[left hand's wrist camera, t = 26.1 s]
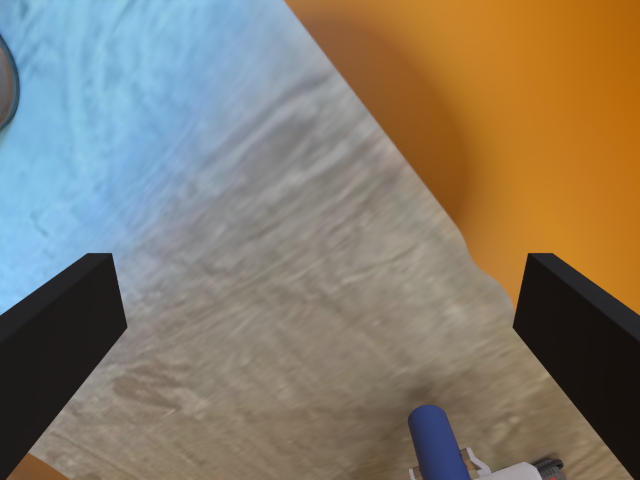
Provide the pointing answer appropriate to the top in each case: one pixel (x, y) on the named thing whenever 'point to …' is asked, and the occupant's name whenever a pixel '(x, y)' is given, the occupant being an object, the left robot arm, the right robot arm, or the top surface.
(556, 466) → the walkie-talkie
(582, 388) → the left robot arm
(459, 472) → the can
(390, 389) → the top surface
